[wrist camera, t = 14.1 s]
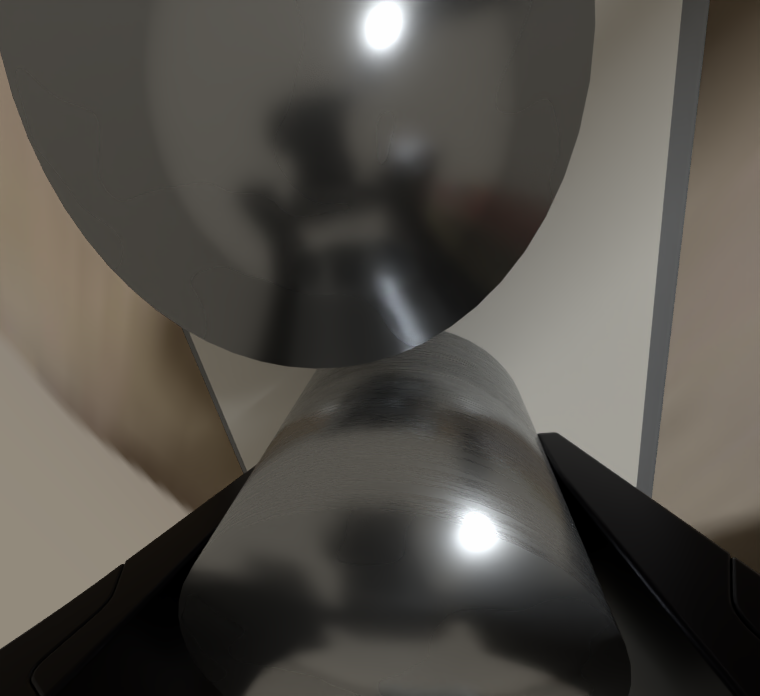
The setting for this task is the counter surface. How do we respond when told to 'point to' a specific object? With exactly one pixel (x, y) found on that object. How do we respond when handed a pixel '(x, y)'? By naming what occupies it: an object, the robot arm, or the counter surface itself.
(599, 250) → the kitchen scale
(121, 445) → the counter surface
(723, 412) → the counter surface
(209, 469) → the counter surface
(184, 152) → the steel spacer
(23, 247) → the counter surface
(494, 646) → the steel spacer
